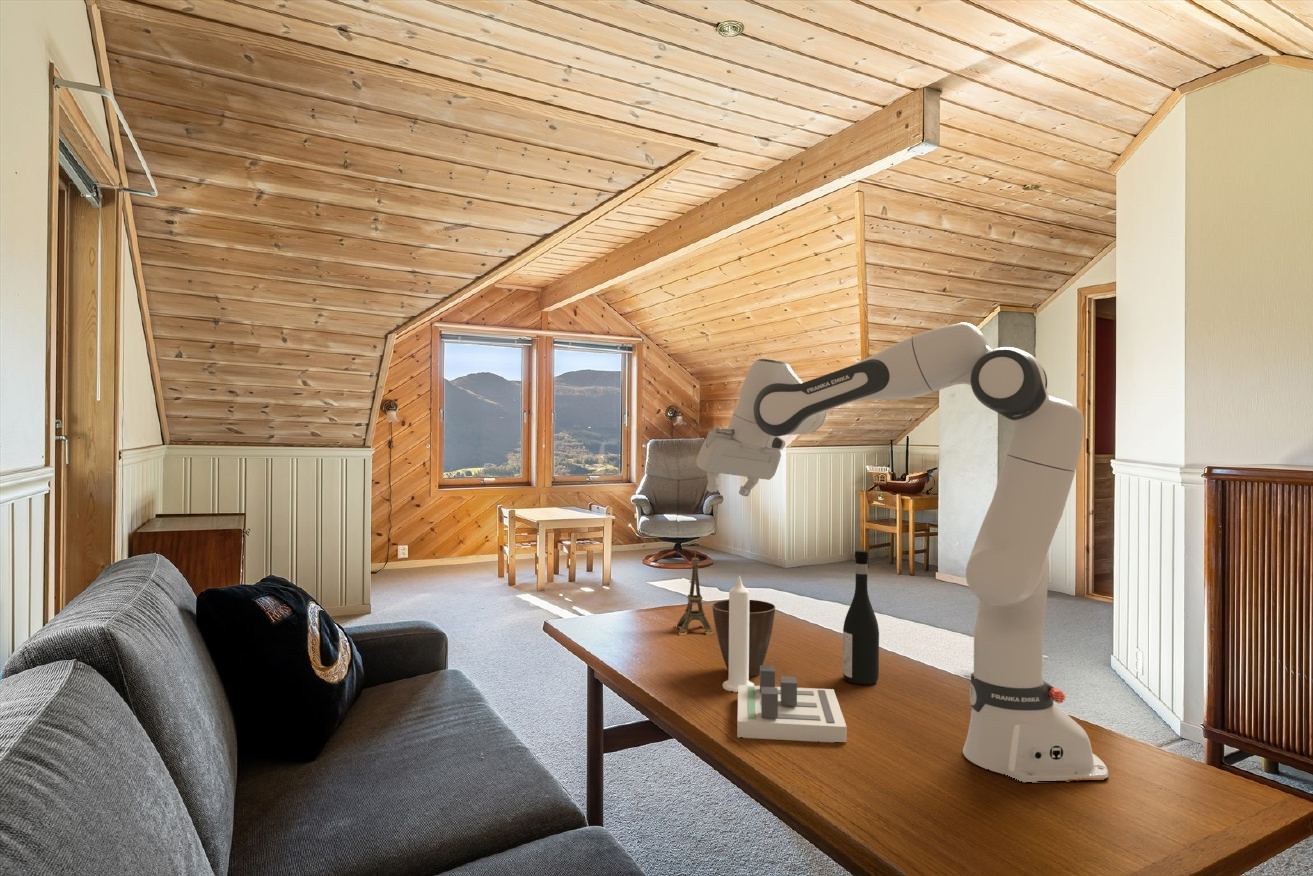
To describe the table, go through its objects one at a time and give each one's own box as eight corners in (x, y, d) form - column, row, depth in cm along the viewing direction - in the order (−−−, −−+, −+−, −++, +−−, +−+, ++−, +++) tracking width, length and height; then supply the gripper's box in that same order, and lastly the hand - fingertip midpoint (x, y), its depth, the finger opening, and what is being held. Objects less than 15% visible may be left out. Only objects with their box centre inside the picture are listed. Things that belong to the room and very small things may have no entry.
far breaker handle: (774, 686, 162) (774, 665, 162) (774, 692, 158) (775, 671, 158) (759, 685, 162) (759, 665, 162) (760, 692, 158) (760, 670, 158)
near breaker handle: (776, 710, 148) (777, 687, 148) (777, 717, 144) (777, 694, 144) (761, 709, 148) (761, 686, 148) (761, 717, 144) (761, 693, 144)
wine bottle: (841, 684, 174) (842, 552, 174) (843, 673, 182) (844, 547, 182) (878, 687, 172) (879, 554, 172) (878, 677, 180) (880, 549, 180)
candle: (753, 694, 167) (754, 579, 167) (720, 691, 169) (721, 578, 168) (755, 683, 174) (756, 574, 174) (724, 681, 176) (725, 572, 175)
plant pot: (704, 678, 178) (705, 609, 177) (720, 660, 192) (720, 597, 192) (768, 685, 173) (769, 615, 173) (779, 667, 187) (780, 601, 187)
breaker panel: (833, 703, 162) (833, 688, 162) (846, 743, 141) (846, 725, 141) (738, 699, 164) (738, 684, 164) (737, 737, 143) (737, 720, 143)
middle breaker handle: (795, 698, 154) (795, 677, 154) (796, 705, 150) (797, 683, 150) (780, 698, 154) (780, 676, 154) (781, 705, 150) (781, 682, 150)
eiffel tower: (710, 626, 227) (711, 541, 227) (715, 635, 217) (716, 547, 216) (674, 626, 226) (675, 541, 226) (678, 635, 216) (678, 547, 216)
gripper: (720, 431, 152) (699, 495, 154) (791, 443, 164) (769, 503, 167) (702, 420, 157) (681, 483, 159) (772, 434, 169) (751, 491, 172)
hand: (727, 493), depth 163 cm, fingers open, 8 cm apart
